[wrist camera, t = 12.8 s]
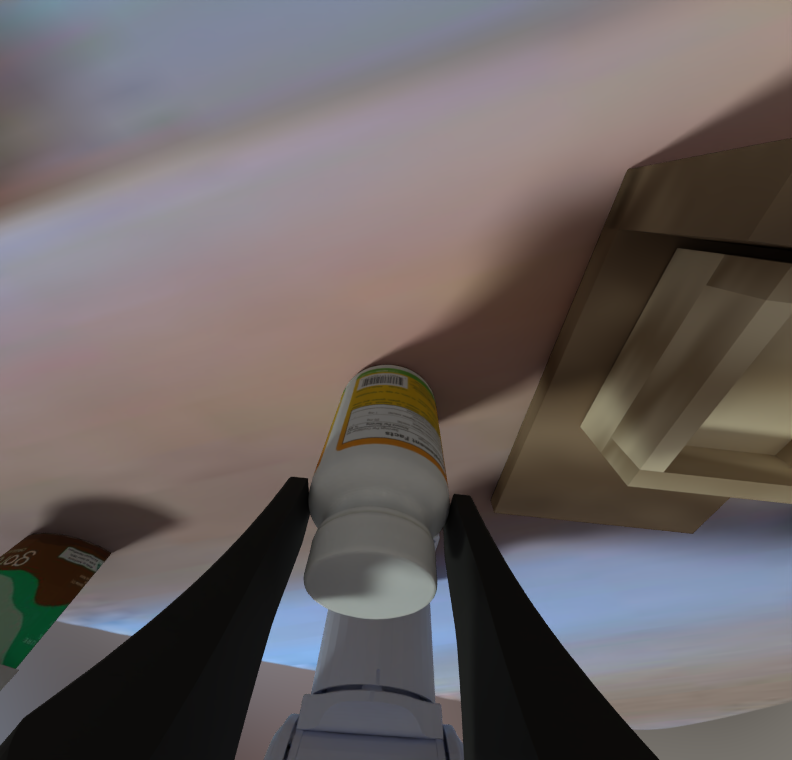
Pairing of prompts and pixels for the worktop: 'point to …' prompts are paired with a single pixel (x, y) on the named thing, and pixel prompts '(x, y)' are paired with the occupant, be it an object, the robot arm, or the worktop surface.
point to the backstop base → (616, 318)
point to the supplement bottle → (378, 499)
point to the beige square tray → (705, 383)
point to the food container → (39, 590)
